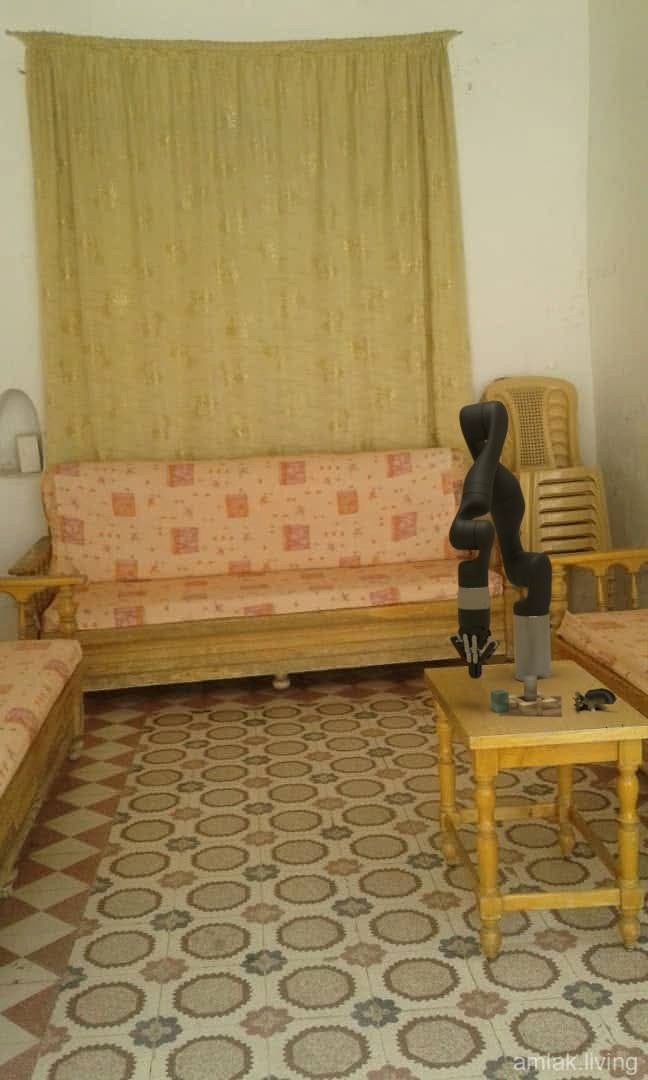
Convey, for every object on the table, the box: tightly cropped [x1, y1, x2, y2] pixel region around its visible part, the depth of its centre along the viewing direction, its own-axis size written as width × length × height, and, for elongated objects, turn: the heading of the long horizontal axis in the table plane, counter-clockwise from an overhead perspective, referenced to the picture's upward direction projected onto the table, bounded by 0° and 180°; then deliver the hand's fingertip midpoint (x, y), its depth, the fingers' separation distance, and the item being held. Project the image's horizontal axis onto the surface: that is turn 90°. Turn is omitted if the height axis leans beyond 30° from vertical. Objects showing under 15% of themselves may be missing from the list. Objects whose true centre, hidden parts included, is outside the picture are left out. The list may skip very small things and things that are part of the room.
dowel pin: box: [537, 698, 542, 716], centre depth 238 cm, size 1×1×4 cm
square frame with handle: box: [490, 689, 558, 714], centre depth 245 cm, size 14×9×4 cm, turn 108°
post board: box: [498, 675, 563, 718], centre depth 246 cm, size 17×14×8 cm
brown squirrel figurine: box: [572, 687, 617, 713], centre depth 241 cm, size 8×7×9 cm
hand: (475, 677), depth 247 cm, fingers closed
